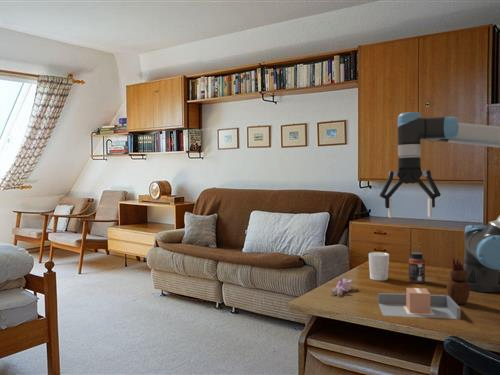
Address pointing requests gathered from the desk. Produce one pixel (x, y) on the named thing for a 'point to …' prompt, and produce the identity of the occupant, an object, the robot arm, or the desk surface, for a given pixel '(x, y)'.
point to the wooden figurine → (458, 284)
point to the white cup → (378, 265)
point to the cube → (418, 300)
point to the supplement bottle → (416, 268)
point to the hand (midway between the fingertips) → (409, 217)
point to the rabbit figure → (341, 287)
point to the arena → (438, 309)
